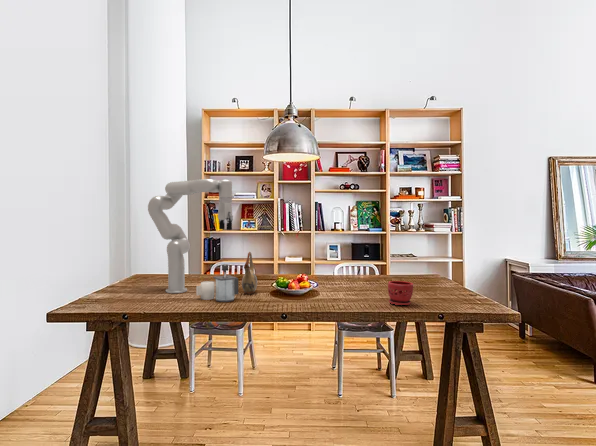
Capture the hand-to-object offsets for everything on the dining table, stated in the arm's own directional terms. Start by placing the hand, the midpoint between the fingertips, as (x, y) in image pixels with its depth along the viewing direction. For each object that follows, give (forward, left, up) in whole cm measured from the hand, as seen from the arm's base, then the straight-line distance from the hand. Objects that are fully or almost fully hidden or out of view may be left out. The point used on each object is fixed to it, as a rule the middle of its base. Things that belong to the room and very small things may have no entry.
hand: (225, 229), depth 238 cm
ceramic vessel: (+8, +12, -38) cm, 41 cm away
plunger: (+16, -8, -35) cm, 39 cm away
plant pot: (+78, +65, -38) cm, 109 cm away
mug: (+6, -15, -38) cm, 42 cm away
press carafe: (+16, -7, -38) cm, 42 cm away
